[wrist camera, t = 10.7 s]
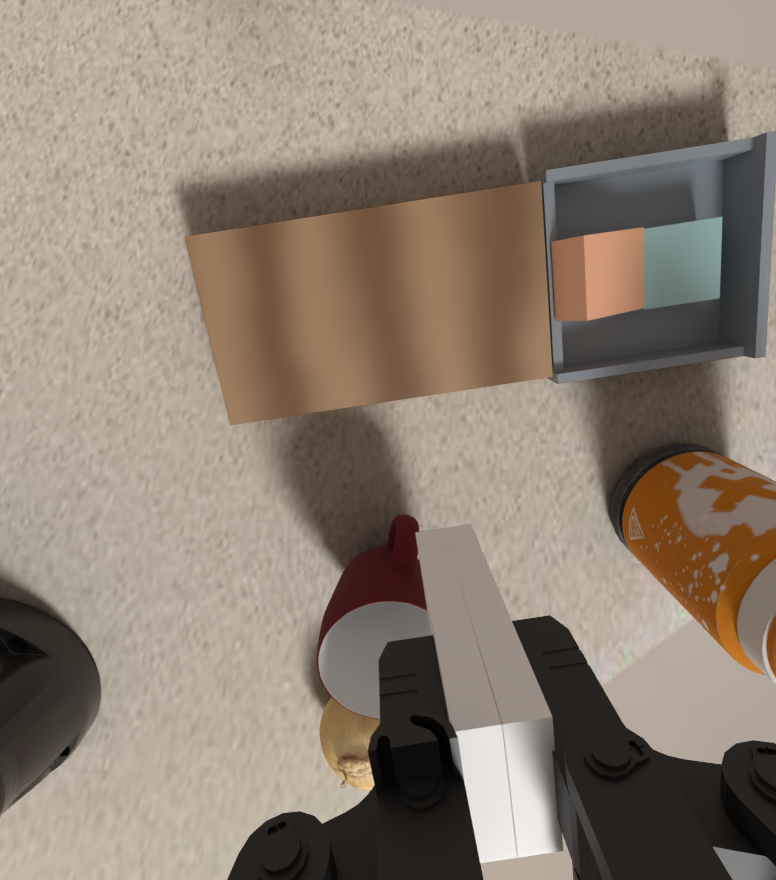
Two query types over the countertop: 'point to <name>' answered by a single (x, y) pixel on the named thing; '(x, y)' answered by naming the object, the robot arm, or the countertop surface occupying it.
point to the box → (659, 204)
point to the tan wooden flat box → (377, 303)
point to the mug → (372, 618)
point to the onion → (347, 744)
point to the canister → (707, 543)
